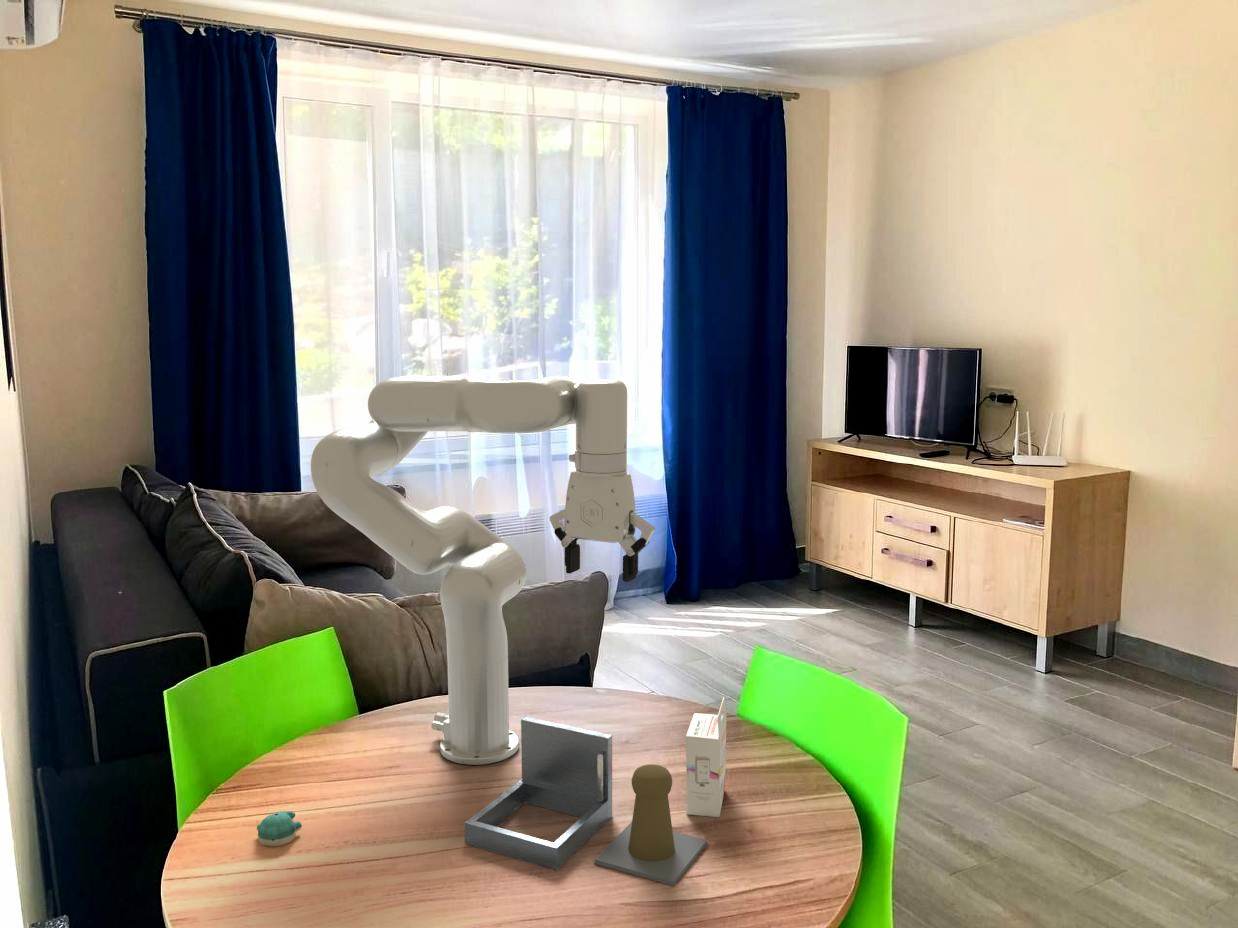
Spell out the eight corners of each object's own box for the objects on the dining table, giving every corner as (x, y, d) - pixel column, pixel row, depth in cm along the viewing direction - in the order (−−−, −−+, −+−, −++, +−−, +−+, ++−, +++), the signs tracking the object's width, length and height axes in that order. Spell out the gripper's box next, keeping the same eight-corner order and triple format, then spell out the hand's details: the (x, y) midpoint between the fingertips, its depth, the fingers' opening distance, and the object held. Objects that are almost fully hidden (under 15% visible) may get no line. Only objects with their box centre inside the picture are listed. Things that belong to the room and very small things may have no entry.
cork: (680, 840, 132) (680, 762, 130) (667, 864, 126) (668, 782, 125) (636, 833, 134) (636, 755, 132) (622, 856, 128) (622, 775, 127)
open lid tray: (465, 843, 132) (463, 757, 131) (526, 794, 146) (525, 716, 144) (556, 870, 126) (555, 780, 124) (612, 816, 140) (612, 734, 138)
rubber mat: (594, 863, 128) (594, 859, 128) (632, 824, 137) (632, 820, 137) (673, 885, 123) (673, 881, 123) (707, 843, 133) (707, 839, 132)
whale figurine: (250, 850, 131) (248, 823, 131) (265, 822, 138) (263, 796, 138) (295, 848, 132) (294, 821, 131) (308, 821, 139) (307, 795, 138)
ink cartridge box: (692, 786, 148) (693, 691, 146) (725, 790, 147) (727, 694, 145) (684, 815, 140) (685, 714, 138) (719, 818, 139) (721, 717, 137)
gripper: (538, 462, 149) (538, 574, 152) (642, 471, 141) (641, 589, 144) (563, 455, 156) (564, 563, 158) (665, 464, 148) (663, 577, 150)
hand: (600, 575), depth 151 cm, fingers open, 9 cm apart
